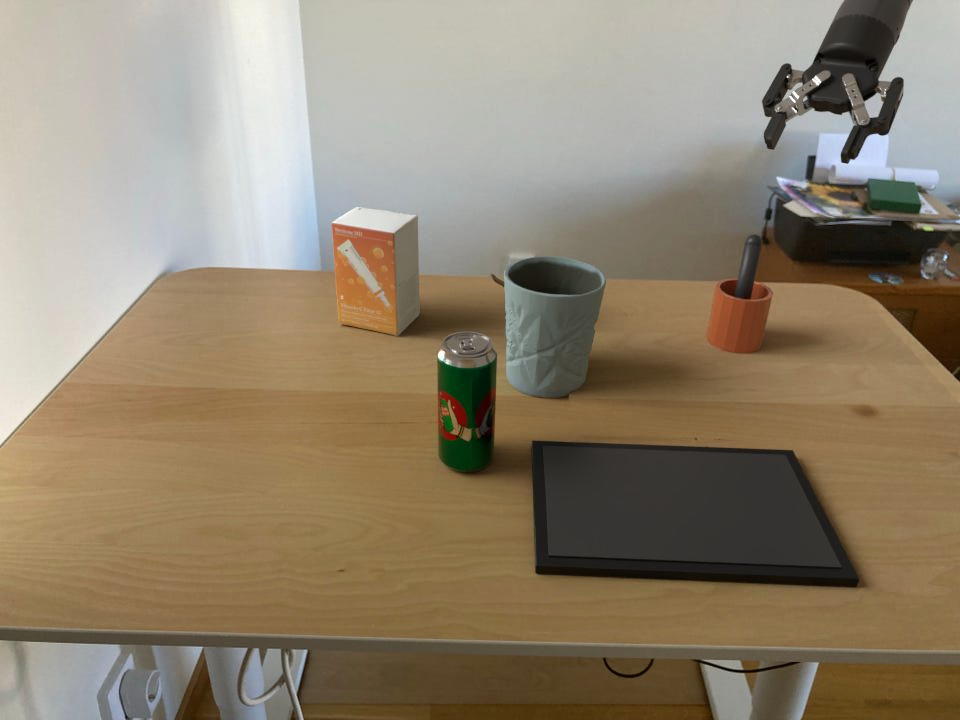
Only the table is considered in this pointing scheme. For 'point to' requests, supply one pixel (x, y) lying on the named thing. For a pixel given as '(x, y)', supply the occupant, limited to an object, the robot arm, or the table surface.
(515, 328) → the embossed blue-green cup
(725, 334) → the pen pot
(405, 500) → the table surface
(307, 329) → the table surface
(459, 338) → the soda can
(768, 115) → the robot arm
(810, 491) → the tablet
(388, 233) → the small box
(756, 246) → the stylus
